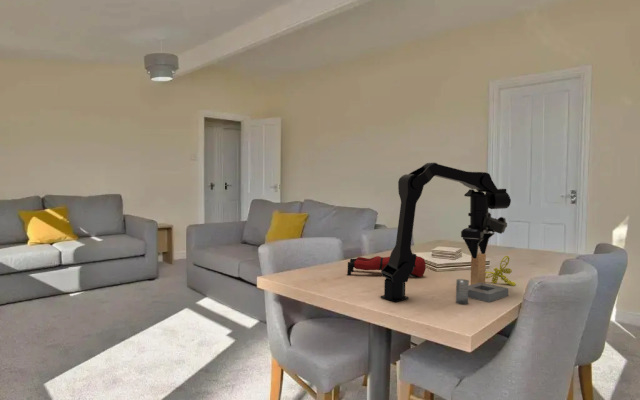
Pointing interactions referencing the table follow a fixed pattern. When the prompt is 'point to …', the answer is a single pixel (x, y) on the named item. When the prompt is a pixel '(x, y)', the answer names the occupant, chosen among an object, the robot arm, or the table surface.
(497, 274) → the decorative insect
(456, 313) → the table surface
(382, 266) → the toy
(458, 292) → the round bit
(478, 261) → the square bit
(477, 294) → the socket plate
